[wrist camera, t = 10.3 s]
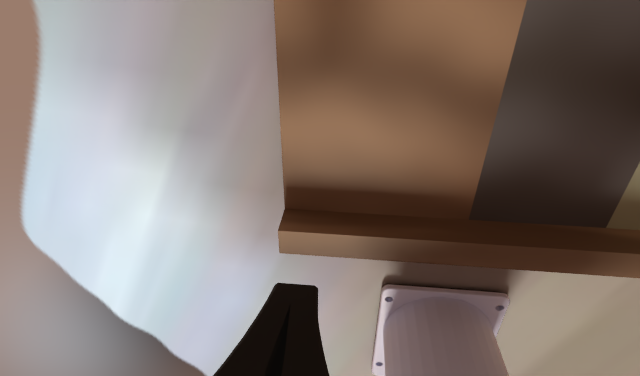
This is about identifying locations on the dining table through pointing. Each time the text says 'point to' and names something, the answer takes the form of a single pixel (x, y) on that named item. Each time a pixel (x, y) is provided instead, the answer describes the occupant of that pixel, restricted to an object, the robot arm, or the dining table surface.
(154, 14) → the dining table surface
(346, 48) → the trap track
